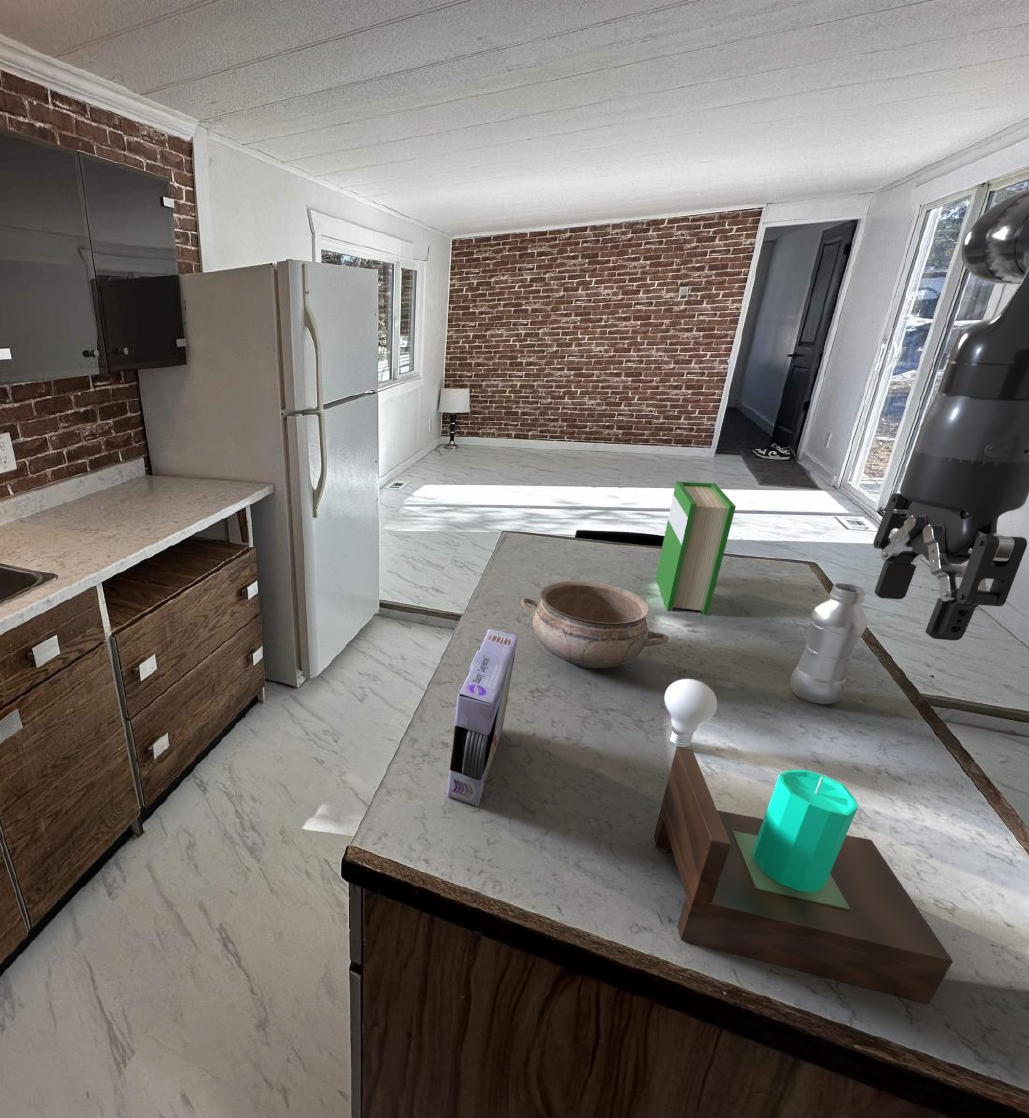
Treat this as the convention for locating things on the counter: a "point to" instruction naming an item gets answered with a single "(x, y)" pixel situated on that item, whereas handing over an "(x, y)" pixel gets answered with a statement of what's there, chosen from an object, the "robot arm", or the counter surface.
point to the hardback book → (694, 545)
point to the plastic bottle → (830, 645)
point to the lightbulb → (688, 708)
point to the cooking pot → (592, 623)
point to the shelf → (793, 900)
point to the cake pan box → (480, 716)
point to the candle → (804, 829)
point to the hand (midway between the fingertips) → (913, 616)
